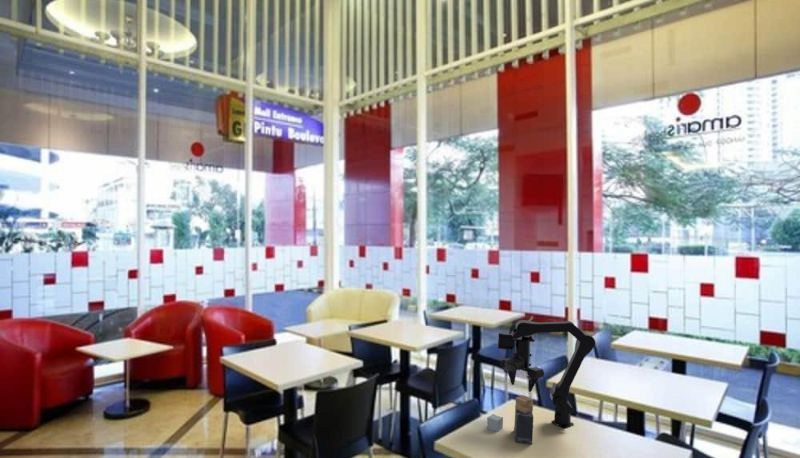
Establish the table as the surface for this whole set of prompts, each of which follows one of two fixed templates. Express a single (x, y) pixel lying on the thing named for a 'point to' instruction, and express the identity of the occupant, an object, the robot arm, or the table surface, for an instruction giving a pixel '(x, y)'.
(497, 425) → the slate block
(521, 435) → the small box
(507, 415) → the table surface
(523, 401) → the walnut cube
